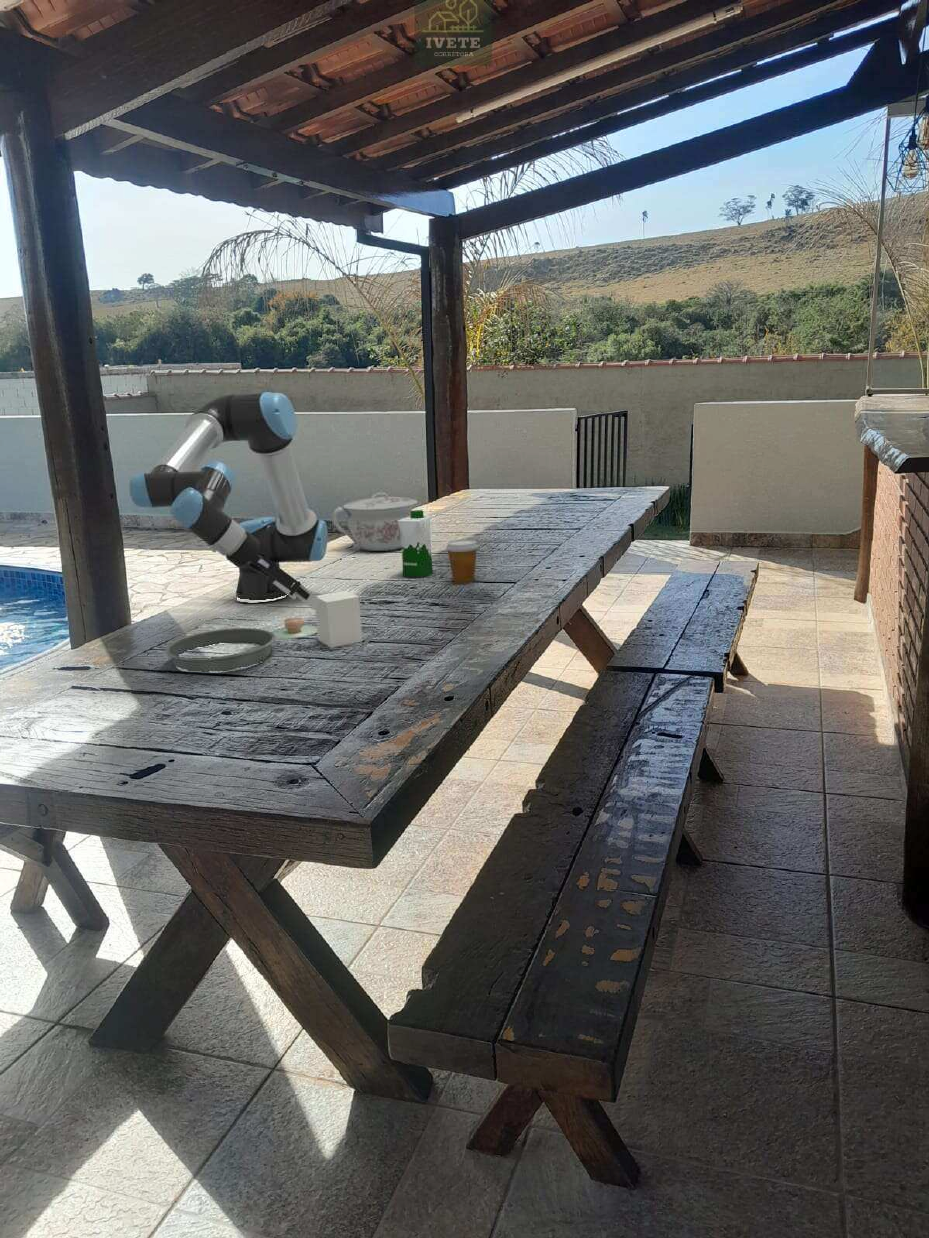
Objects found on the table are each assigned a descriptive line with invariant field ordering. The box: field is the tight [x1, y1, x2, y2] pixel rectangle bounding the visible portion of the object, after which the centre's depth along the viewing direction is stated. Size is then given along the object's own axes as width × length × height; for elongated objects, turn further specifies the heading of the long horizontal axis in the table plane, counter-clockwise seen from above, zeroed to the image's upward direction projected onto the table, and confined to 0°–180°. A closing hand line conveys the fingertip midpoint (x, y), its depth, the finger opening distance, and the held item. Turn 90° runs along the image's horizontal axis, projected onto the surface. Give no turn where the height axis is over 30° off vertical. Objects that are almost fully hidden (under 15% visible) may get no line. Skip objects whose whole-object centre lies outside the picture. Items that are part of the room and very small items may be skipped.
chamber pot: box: [332, 492, 419, 552], centre depth 339 cm, size 28×28×21 cm
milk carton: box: [398, 509, 434, 579], centre depth 290 cm, size 9×9×20 cm
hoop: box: [164, 627, 277, 672], centre depth 212 cm, size 25×25×4 cm
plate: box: [270, 624, 318, 640], centre depth 231 cm, size 12×12×1 cm
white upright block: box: [315, 590, 364, 648], centre depth 219 cm, size 8×8×11 cm
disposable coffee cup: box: [445, 539, 479, 585], centre depth 278 cm, size 10×10×12 cm
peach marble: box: [283, 617, 304, 633], centre depth 230 cm, size 4×4×3 cm
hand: (307, 600), depth 213 cm, fingers open, 13 cm apart
